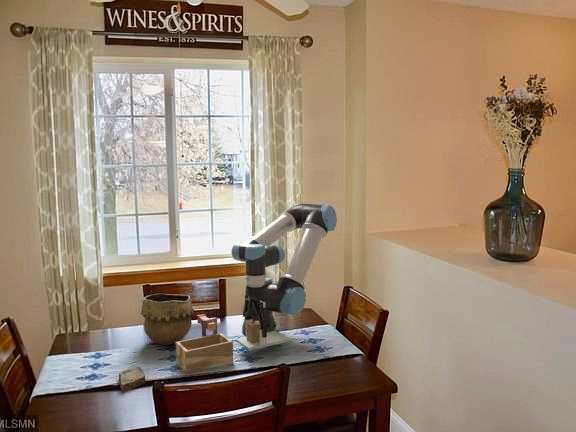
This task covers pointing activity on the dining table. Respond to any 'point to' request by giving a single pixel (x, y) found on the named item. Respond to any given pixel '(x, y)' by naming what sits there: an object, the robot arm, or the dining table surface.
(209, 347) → the toolbox
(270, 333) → the lid
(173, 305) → the clay pot
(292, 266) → the robot arm
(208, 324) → the key bar
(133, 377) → the stone
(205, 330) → the staple
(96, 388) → the dining table surface
